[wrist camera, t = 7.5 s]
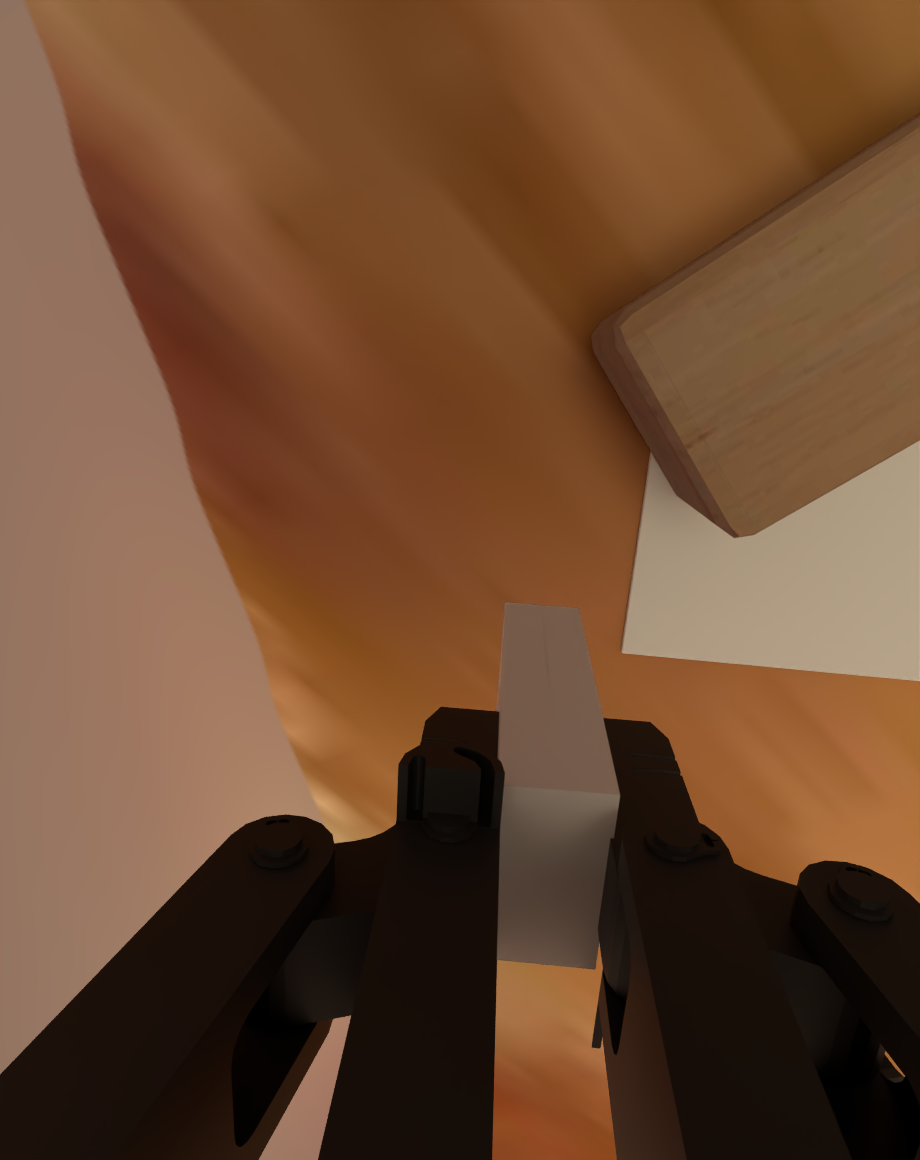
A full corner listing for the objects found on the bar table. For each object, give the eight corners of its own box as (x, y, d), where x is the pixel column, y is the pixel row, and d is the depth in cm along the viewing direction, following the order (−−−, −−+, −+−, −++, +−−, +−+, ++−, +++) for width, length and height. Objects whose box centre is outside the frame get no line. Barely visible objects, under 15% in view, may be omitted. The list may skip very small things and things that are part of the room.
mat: (672, 302, 37) (674, 301, 37) (1103, 334, 36) (1109, 335, 36) (620, 650, 43) (621, 653, 42) (994, 685, 42) (998, 688, 42)
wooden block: (580, 334, 37) (982, 70, 34) (681, 508, 39) (1073, 277, 36) (605, 321, 28) (1173, -50, 24) (737, 553, 30) (1284, 243, 26)
